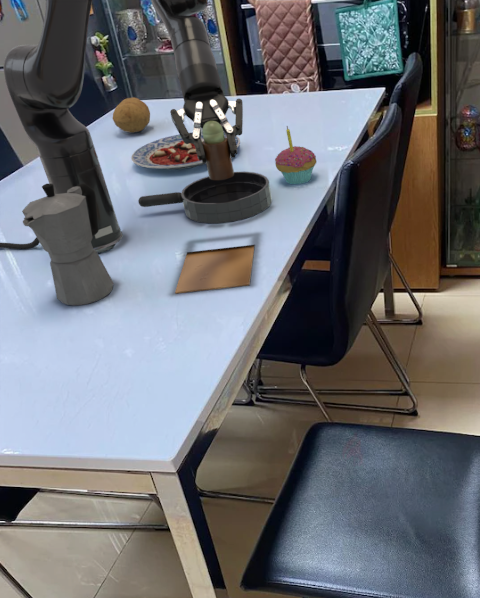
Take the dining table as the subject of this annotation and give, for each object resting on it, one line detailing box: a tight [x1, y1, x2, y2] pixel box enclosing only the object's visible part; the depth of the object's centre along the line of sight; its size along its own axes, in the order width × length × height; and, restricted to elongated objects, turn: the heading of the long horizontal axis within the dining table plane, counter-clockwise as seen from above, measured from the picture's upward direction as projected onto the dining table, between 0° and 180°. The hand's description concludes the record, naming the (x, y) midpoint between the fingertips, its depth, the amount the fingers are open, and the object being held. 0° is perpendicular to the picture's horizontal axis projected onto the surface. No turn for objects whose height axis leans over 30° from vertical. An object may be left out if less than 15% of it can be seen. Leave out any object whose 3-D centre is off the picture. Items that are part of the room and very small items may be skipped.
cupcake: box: [274, 125, 317, 185], centre depth 144 cm, size 9×8×12 cm
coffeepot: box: [21, 183, 115, 306], centre depth 112 cm, size 15×9×18 cm, turn 159°
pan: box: [181, 171, 273, 224], centre depth 138 cm, size 17×17×4 cm
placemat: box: [174, 244, 256, 294], centre depth 121 cm, size 12×20×1 cm, turn 3°
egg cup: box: [202, 121, 235, 180], centre depth 132 cm, size 5×5×10 cm
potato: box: [112, 97, 151, 134], centre depth 189 cm, size 10×14×8 cm
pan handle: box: [138, 191, 183, 208], centre depth 138 cm, size 9×2×2 cm, turn 93°
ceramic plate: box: [130, 131, 241, 170], centre depth 168 cm, size 26×26×3 cm
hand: (218, 157), depth 132 cm, fingers closed on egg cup, 4 cm apart
